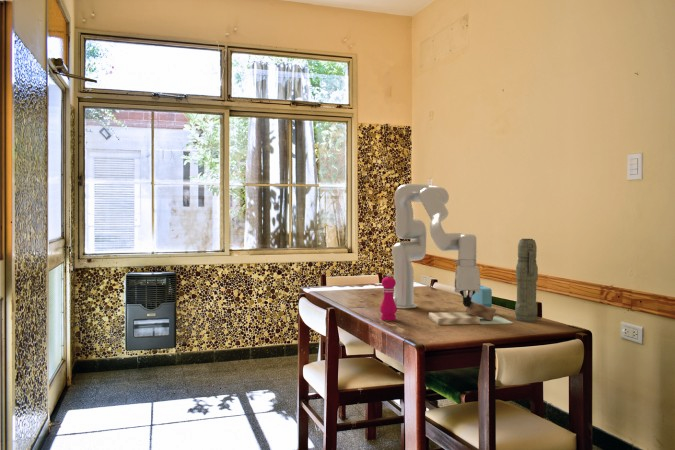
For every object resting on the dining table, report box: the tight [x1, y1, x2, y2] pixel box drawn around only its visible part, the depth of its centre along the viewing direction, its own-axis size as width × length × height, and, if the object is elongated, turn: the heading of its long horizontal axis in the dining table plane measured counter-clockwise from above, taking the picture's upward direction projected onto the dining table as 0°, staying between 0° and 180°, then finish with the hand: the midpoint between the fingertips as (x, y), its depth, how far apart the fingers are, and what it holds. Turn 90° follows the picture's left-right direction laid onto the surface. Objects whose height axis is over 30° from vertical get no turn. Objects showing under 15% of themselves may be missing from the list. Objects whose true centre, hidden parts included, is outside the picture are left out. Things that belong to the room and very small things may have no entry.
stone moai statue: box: [514, 238, 539, 323], centre depth 235 cm, size 9×12×35 cm
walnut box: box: [465, 300, 497, 321], centre depth 233 cm, size 10×6×5 cm, turn 96°
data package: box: [471, 284, 493, 308], centre depth 251 cm, size 12×4×12 cm, turn 10°
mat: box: [477, 315, 514, 325], centre depth 234 cm, size 14×15×1 cm
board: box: [428, 311, 481, 326], centre depth 232 cm, size 18×13×2 cm
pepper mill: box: [379, 272, 398, 322], centre depth 235 cm, size 7×7×20 cm
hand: (466, 306), depth 233 cm, fingers closed
